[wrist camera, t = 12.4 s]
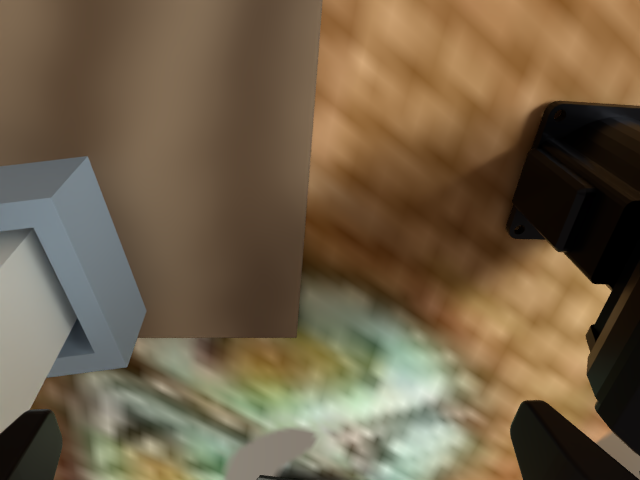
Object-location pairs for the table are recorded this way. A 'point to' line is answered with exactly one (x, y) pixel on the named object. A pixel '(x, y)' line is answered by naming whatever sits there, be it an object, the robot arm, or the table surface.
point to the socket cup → (78, 258)
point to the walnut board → (178, 143)
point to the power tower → (28, 321)
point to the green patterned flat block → (271, 478)
